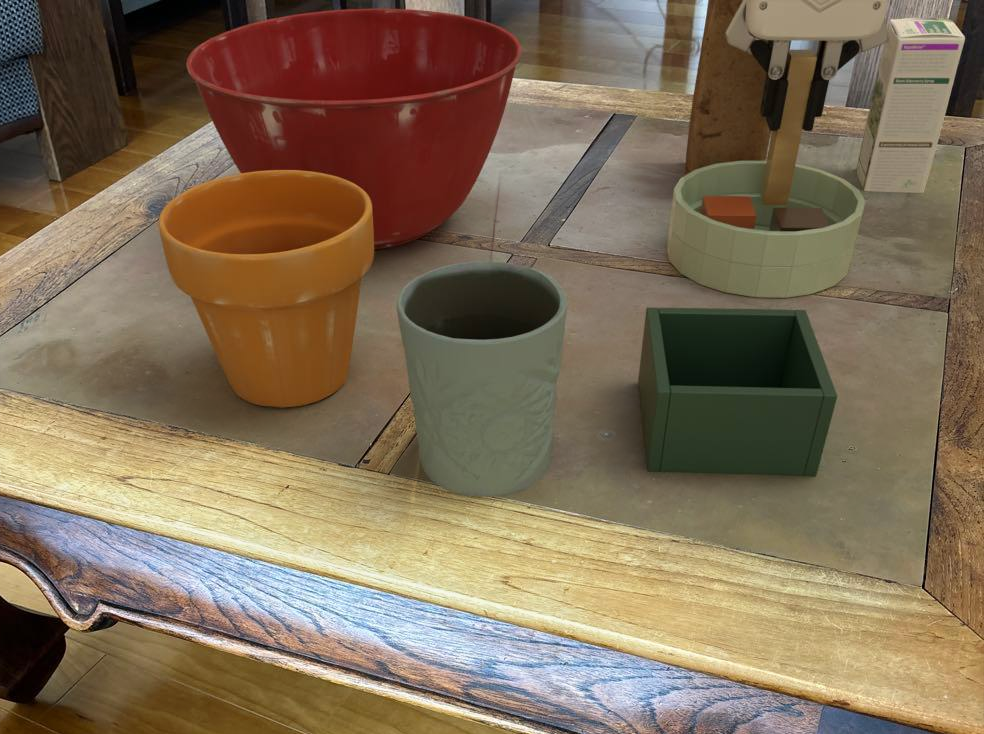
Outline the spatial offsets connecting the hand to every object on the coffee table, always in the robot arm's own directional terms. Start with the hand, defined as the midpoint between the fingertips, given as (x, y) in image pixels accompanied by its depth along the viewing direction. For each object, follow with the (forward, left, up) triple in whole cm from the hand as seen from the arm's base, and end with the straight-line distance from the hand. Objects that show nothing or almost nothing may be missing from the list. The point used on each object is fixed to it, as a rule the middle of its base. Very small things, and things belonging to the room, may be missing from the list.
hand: (788, 123), depth 84 cm
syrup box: (-14, -13, -11) cm, 22 cm away
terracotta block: (+4, +3, -10) cm, 11 cm away
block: (+2, -13, -11) cm, 17 cm away
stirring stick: (0, 0, -7) cm, 7 cm away
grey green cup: (+23, +34, -11) cm, 42 cm away
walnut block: (-1, +5, -10) cm, 11 cm away
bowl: (+1, +4, -11) cm, 11 cm away
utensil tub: (+7, +30, -10) cm, 32 cm away
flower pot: (+38, +24, -11) cm, 46 cm away
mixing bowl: (+36, -4, -11) cm, 38 cm away
